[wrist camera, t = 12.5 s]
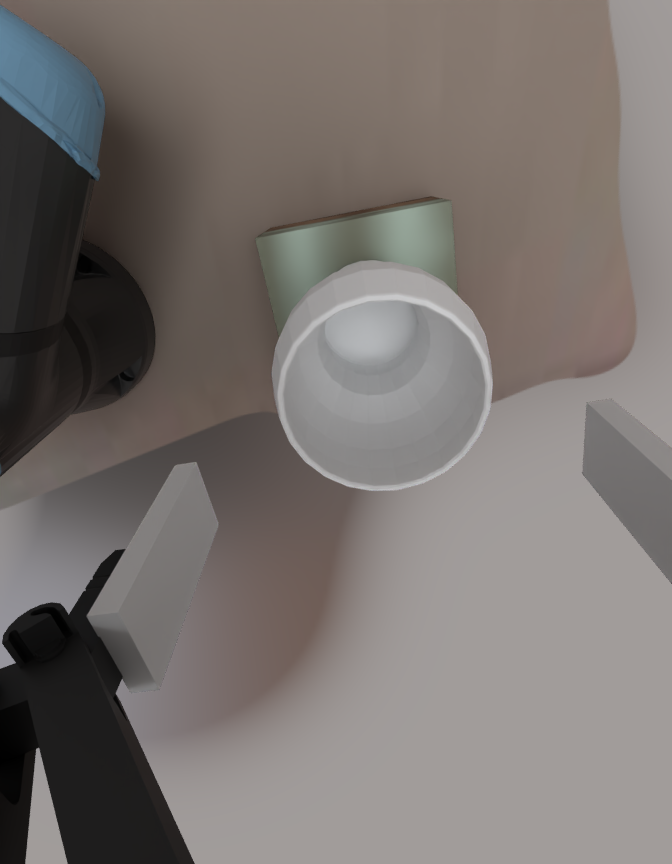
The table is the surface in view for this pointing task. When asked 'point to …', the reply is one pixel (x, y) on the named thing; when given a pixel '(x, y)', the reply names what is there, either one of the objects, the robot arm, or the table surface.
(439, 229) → the tower base
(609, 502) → the robot arm
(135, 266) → the table surface
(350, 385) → the cup
